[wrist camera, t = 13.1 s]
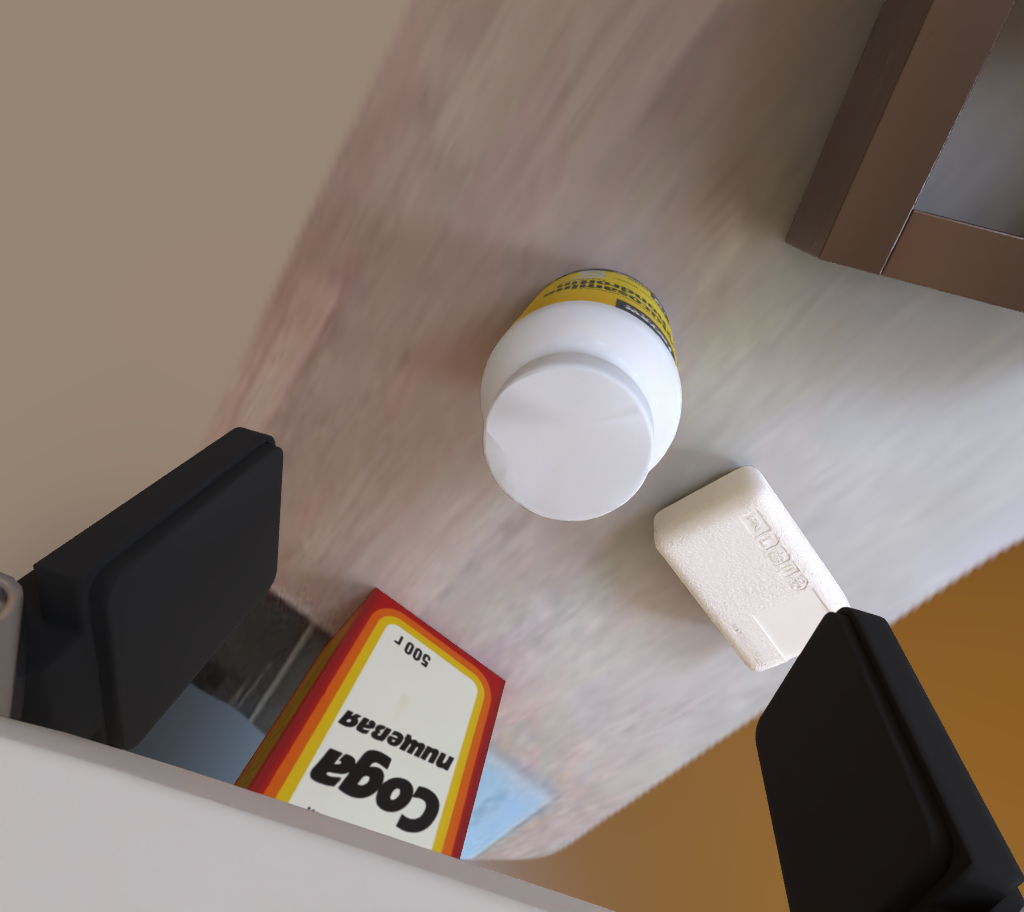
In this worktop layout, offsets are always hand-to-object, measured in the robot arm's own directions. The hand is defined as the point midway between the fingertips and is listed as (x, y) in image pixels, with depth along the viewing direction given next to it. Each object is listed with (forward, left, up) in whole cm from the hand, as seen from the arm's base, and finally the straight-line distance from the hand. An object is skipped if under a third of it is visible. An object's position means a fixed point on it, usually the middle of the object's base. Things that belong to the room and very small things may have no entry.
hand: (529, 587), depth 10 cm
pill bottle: (0, 0, -19) cm, 19 cm away
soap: (+10, -8, -19) cm, 23 cm away
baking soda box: (-5, -22, -19) cm, 30 cm away
